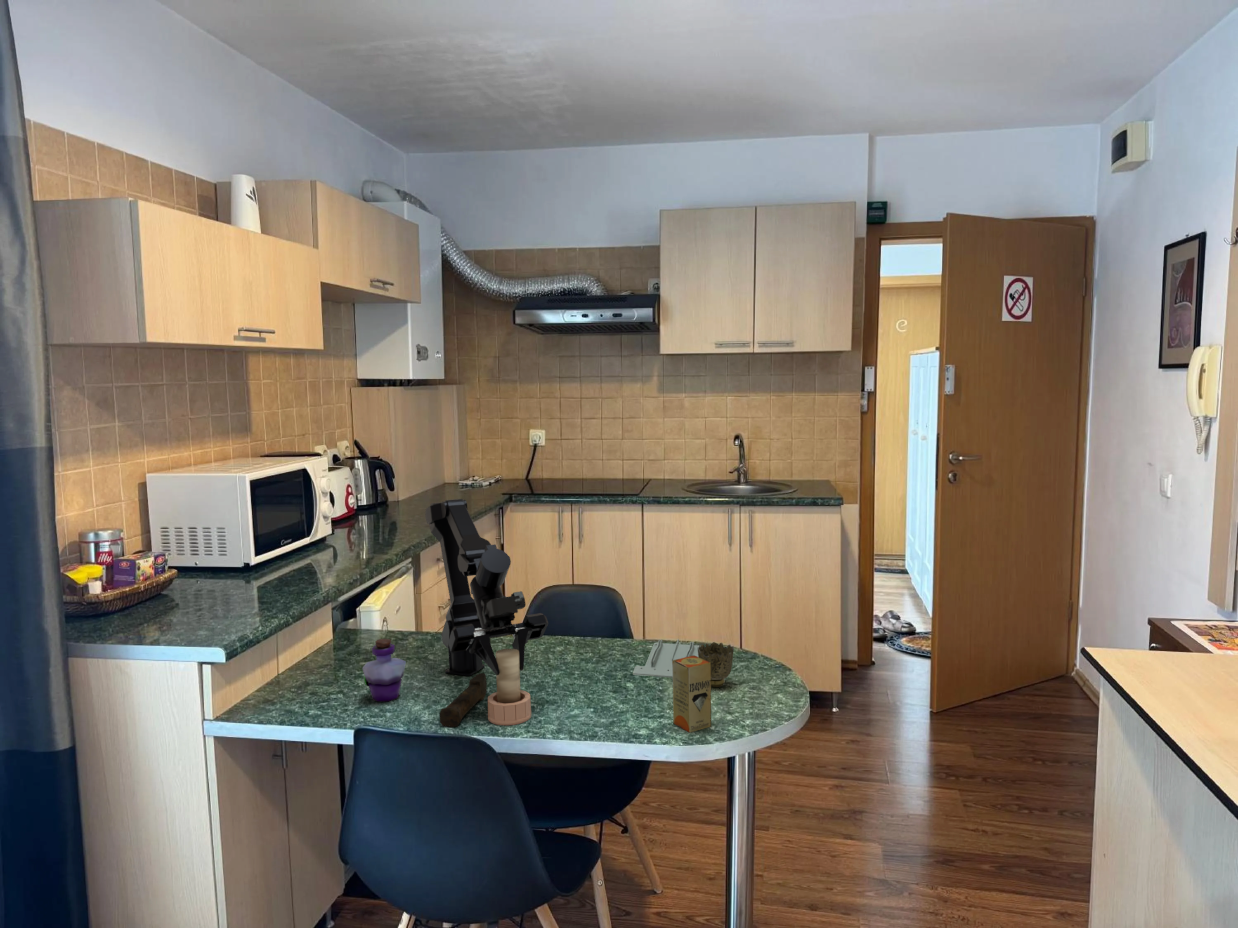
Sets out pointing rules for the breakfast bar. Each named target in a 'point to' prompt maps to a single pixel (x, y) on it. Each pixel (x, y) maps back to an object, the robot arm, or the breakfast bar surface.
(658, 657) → the metal bracket
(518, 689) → the birch peg
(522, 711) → the terracotta cup
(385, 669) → the potion bottle
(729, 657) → the brown speckled footed container
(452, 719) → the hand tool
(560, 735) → the breakfast bar surface
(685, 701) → the shoe polish box
